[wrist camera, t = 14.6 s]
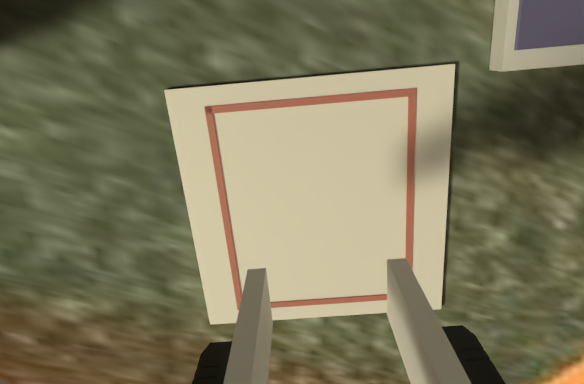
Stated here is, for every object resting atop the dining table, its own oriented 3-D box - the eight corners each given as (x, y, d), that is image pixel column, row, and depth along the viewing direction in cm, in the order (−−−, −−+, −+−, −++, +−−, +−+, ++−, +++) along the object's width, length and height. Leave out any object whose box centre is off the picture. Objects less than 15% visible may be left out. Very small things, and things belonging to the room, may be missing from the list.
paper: (165, 89, 22) (163, 90, 22) (453, 63, 21) (456, 64, 21) (211, 321, 28) (209, 325, 27) (439, 306, 27) (441, 309, 27)
